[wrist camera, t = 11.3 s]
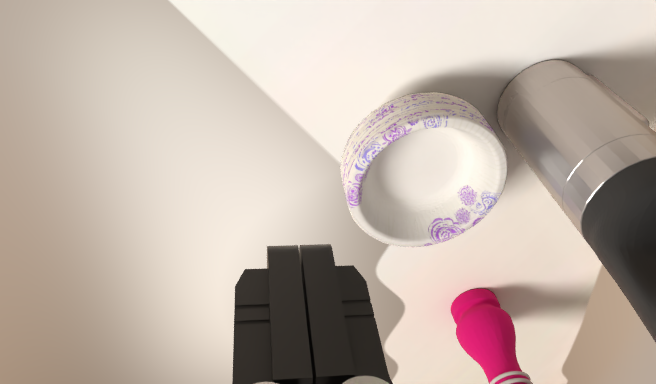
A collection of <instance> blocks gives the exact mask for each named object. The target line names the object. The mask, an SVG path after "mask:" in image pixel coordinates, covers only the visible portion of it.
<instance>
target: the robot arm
mask: <svg viewBox="0 0 656 384" xmlns="http://www.w3.org/2000/svg"><path fill="white" fill-rule="evenodd" d="M497 116H498V122H499V125H500V127H501V129H502V130H503V132H504V133H505V134H506V136H507V137H508V138H509V140H510V141H511V142H512V144H513V145H514V146H515V148H516V149H517V151H518V152H519V153H520V155H521V156H522V157H523V159H524V160H525V161H526V162H527V164H528V165H529V166H530V168H531V169H532V170H533V172H534V173H535V174H536V176H537V177H538V178H539V180H540V181H541V182H542V184H543V185H544V186H545V188H546V189H547V190H548V192H549V193H550V194H551V195H552V197H553V198H554V199H555V201H556V202H557V203H558V205H559V206H560V207H561V209H562V210H563V211H564V213H565V214H566V215H567V216H568V218H569V219H570V220H571V222H572V223H573V224H574V226H575V227H576V228H577V230H578V231H579V232H580V234H581V235H582V236H583V237H584V239H585V240H586V241H587V243H588V244H589V245H590V247H591V248H592V249H593V250H594V252H595V253H596V255H597V256H598V258H599V260H600V261H601V262H602V264H603V265H604V267H605V268H606V269H607V271H608V272H609V273H610V275H611V276H612V277H613V279H614V280H615V282H616V283H617V284H618V286H619V287H620V289H621V290H622V292H623V293H624V295H625V296H626V297H627V299H628V300H629V302H630V303H631V305H632V307H633V308H634V310H635V311H636V313H637V314H638V316H639V317H640V319H641V320H642V322H643V324H644V325H645V326H646V328H647V330H648V331H649V333H650V334H651V336H652V337H653V339H654V340H655V342H656V132H654V131H653V130H652V129H651V128H650V127H649V122H648V120H647V119H646V118H645V117H644V116H642V115H641V114H640V113H639V112H637V111H636V110H635V109H634V108H633V107H631V106H630V105H629V104H628V103H626V102H625V101H624V100H623V99H621V98H620V97H619V96H618V95H617V94H615V93H614V92H613V91H612V90H610V89H609V88H608V87H607V86H605V85H604V84H603V83H602V82H601V81H599V80H598V79H597V78H596V77H594V76H593V75H586V74H585V73H584V72H583V71H581V70H580V69H579V68H578V67H576V66H575V65H573V64H571V63H569V62H566V61H562V60H549V61H544V62H540V63H537V64H535V65H532V66H530V67H529V68H527V69H525V70H523V71H522V72H521V73H520V74H518V75H517V76H516V77H515V78H514V79H513V80H512V81H511V82H510V83H509V84H508V86H507V87H506V89H505V90H504V92H503V94H502V96H501V98H500V101H499V104H498V110H497ZM234 316H235V317H234V352H233V384H393V383H392V381H391V379H390V377H389V374H388V371H387V366H386V362H385V358H384V354H383V350H382V346H381V341H380V337H379V334H378V329H377V325H376V321H375V318H374V312H373V308H372V304H371V303H370V296H369V292H368V288H367V284H366V281H365V279H364V278H363V277H362V276H361V274H360V273H359V272H358V271H357V269H356V268H355V267H354V266H335V262H334V257H333V251H332V247H331V245H330V244H326V245H300V248H298V246H297V245H294V246H268V247H267V269H245V270H244V272H243V274H242V275H241V277H240V279H239V281H238V282H237V284H236V286H235V315H234Z"/></svg>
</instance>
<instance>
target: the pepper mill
mask: <svg viewBox="0 0 656 384" xmlns="http://www.w3.org/2000/svg"><path fill="white" fill-rule="evenodd" d="M451 313H452V316H453V318H454V321H455V323H456V324H457V328H456V335H457V339H458V341H459V343H460V345H461V346H462V348H463V349H464V350H465V351H466V353H468V354H469V355H470V356H471V357H472V358H473V359H474V360H475V361H476V362H478V363H479V364H480V366H481V367H482V368H483V370H484V372H485V374H486V376H487V378H488V381H489V384H533V383H532V382H531V381H530V377H529V375H528V374H526V373H524V372H522V370H521V369H520V367H519V364H518V362H517V358H516V351H515V341H516V336H515V329H514V325H513V322H512V320H511V317H510V316H509V314H508V313H507V312H505V311H504V310H502V309H501V307H500V304H499V302H498V300H497V298H496V296H495V294H494V293H493V292H491V291H490V290H486V289H472V290H469V291H466V292H464V293H462V294H461V295H459V296H458V297H457V298H456V299H455V300H454V302H453V303H452V306H451Z"/></svg>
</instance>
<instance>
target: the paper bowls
mask: <svg viewBox="0 0 656 384" xmlns="http://www.w3.org/2000/svg"><path fill="white" fill-rule="evenodd" d="M507 169H508V163H507V156H506V153H505V150H504V147H503V144H502V143H501V142H500V140H499V138H498V137H497V135H496V134H495V132H494V131H493V129H492V128H491V127H490V125H489V124H488V122H487V121H486V119H485V118H484V117H483V116H482V115H481V113H480V112H479V110H477V109H476V108H475V107H474V106H473V105H471V104H470V103H468V102H467V101H465V100H463V99H461V98H458V97H456V96H452V95H448V94H444V93H435V92H429V93H416V94H410V95H406V96H403V97H400V98H398V99H395V100H392V101H390V102H388V103H386V104H384V105H382V106H381V107H379V108H378V109H376V110H375V111H373V112H372V113H370V114H369V115H368V116H367V117H366V118H364V119H363V120H362V121H361V122H360V123H359V124H358V126H357V127H356V128H355V130H354V131H353V133H352V134H351V136H350V137H349V139H348V141H347V143H346V146H345V149H344V152H343V155H342V159H341V178H342V182H343V186H344V191H345V194H346V200H347V203H348V207H349V210H350V212H351V215H352V217H353V219H354V220H355V222H356V223H357V224H358V226H359V227H360V228H361V229H362V230H363V231H365V232H366V233H367V234H369V235H370V236H371V237H373V238H375V239H377V240H380V241H381V242H384V243H386V244H390V245H395V246H402V247H421V246H428V245H433V244H438V243H440V242H444V241H446V240H449V239H451V238H454V237H456V236H458V235H460V234H462V233H463V232H465V231H466V230H468V229H470V228H471V227H473V226H474V225H476V224H477V223H478V222H479V221H480V220H482V219H483V218H484V217H485V216H486V215H487V213H488V212H489V211H490V210H491V209H492V207H493V206H494V205H495V204H496V202H497V200H498V199H499V197H500V195H501V193H502V191H503V188H504V185H505V182H506V177H507Z"/></svg>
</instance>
